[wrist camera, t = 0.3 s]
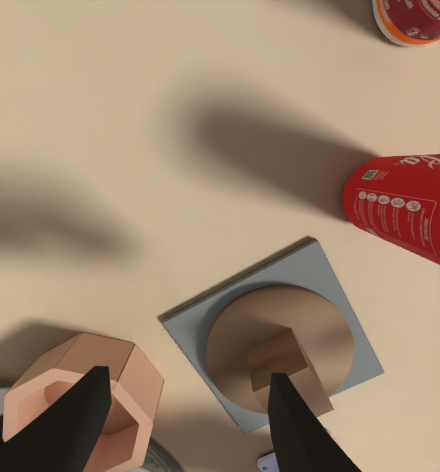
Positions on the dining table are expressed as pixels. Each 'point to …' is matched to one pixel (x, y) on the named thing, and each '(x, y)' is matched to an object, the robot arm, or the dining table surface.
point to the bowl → (122, 393)
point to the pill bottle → (408, 21)
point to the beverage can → (398, 201)
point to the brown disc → (279, 347)
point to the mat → (274, 273)
